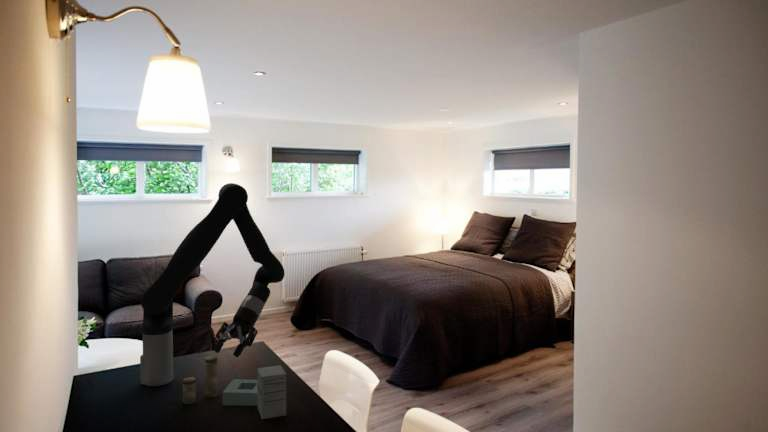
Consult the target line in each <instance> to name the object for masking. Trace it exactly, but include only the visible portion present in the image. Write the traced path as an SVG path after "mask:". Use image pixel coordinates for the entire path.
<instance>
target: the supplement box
mask: <svg viewBox="0 0 768 432" xmlns="http://www.w3.org/2000/svg"><path fill="white" fill-rule="evenodd" d="M256 370H257V372H256V373H257V376H256V377H257V379H256V380H257V406H256V407H257V410H258V412H259V415H260V419H261V420H267V419H273V418H279V417H284V416H287V373H286V371H285V370H284V368H283V366H282V365H280V364H279V365H271V366H264V367H259V368H257V369H256Z"/></svg>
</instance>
